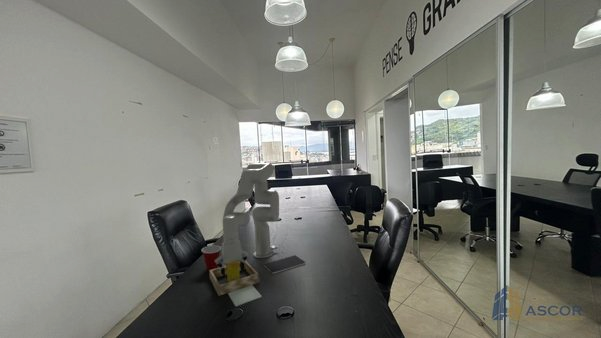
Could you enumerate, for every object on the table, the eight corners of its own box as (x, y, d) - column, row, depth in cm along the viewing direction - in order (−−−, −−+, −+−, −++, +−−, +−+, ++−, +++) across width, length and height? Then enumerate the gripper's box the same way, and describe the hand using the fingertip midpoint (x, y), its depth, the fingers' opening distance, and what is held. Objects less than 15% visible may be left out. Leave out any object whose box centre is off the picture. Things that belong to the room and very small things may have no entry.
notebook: (295, 257, 153) (263, 266, 143) (295, 255, 153) (263, 264, 142) (305, 264, 142) (272, 275, 132) (305, 262, 142) (272, 272, 132)
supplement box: (228, 278, 129) (226, 258, 128) (239, 276, 130) (238, 257, 130) (227, 284, 123) (226, 263, 123) (239, 282, 124) (238, 261, 124)
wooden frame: (246, 268, 140) (245, 260, 140) (259, 282, 123) (258, 273, 123) (209, 278, 130) (209, 270, 130) (218, 295, 113) (218, 286, 113)
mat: (252, 285, 120) (252, 285, 120) (261, 297, 110) (261, 296, 110) (228, 293, 114) (228, 293, 114) (235, 306, 104) (235, 305, 104)
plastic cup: (216, 273, 136) (214, 252, 135) (198, 272, 138) (197, 251, 137) (225, 264, 146) (224, 245, 146) (209, 263, 149) (208, 244, 148)
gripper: (245, 234, 133) (246, 265, 134) (212, 241, 124) (214, 274, 125) (249, 238, 127) (251, 270, 128) (215, 245, 118) (217, 280, 118)
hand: (233, 272), depth 126 cm, fingers open, 9 cm apart
